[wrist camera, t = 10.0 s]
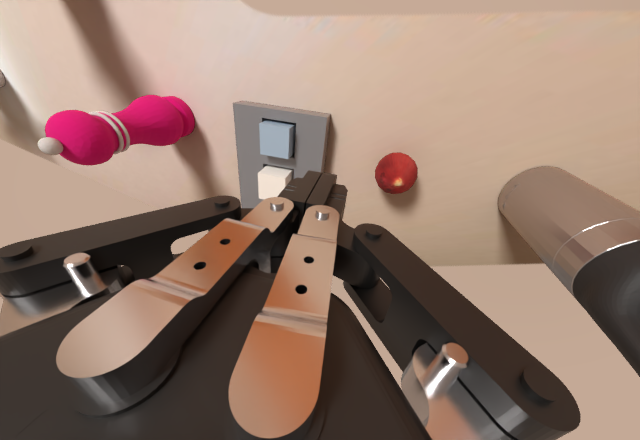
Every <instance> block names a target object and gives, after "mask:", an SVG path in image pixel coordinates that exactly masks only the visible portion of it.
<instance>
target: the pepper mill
mask: <svg viewBox="0 0 640 440" xmlns="http://www.w3.org/2000/svg"><path fill="white" fill-rule="evenodd" d="M194 125H195V121H194V116H193V114H192V111H191V109H190V108H189V107H188V105H187V104H186V103H185V102H184V101H182V100H181V99H179V98H177V97H174V96H168V97H160V96H156V95H146V96H142V97H139V98H137V99H136V100H134V101H133V102H132V103H131V104H130V105H129V106H128V107H127V108H126V109H124V110H122V111H120V112H116V113H109V112H106V111H97V112H90V113H86V112H83V111H78V110H66V111H62V112H58V113H56V114H54V115H53V116H51V117H50V118H49V120H48V121H47V123H46V127H45V133H46V137H45V138H42V139H40V140H39V141H38V147H39V149H40V150H41V151H42V152H44V153H46V154H49V155H57V154H60V155H61V156H62V157H64V158H66V159H67V160H69V161H71V162H73V163H77V164H81V165H97V164H101V163H104V162H106V161H108V160H109V159H110V158H111V157H112V155H113V154H118V153H120V152H124V151H126V150H127V149H128V148H129V146H130V145H133V144H149V145H155V146H166V145H170V144H174V143H176V142H177V141H178V140H179V139H180V138H181V137H184V136H187V135H189V134H190V133H191V132H192V131H193V129H194Z"/></svg>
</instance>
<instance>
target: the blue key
mask: <svg viewBox="0 0 640 440" xmlns="http://www.w3.org/2000/svg"><path fill="white" fill-rule="evenodd" d="M259 131H260V154H262V155H268V156H273V157H279V158H285V159H289V158H290V157H291V156H292V155H293V154H294V153H295V136H296V123H292V122H285V121H279V120H273V119H268V120H266V121H264V122H261V123H259Z"/></svg>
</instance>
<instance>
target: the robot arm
mask: <svg viewBox="0 0 640 440" xmlns="http://www.w3.org/2000/svg"><path fill="white" fill-rule="evenodd" d="M336 179H337V175H334V174H328V173H322V172H316V171H310V170H308V171H307V173H306V174H305V176H304V177H303V178H298V177H297V178H295V179H293V180H290V182H289V183H288V184H287V186H286V187H285V188H284V189H283V190H282V191H281V193H280V194H279V195H278V196H277V197H271V198H267V199H264V200H263V201H262V202H260V203H259V204H258V205H257V206H256V207H255V208H241V204H240V201H239V199H237V198H235V197H232V196H217V197H213V198H208V199H204V200H200V201H195V202H191V203H187V204H182V205H178V206H173V207H169V208H165V209H160V210H156V211H152V212H147V213H143V214H139V215H134V216H130V217H126V218H121V219H117V220H113V221H108V222H104V223H99V224H95V225H91V226H86V227H82V228H78V229H74V230H69V231H65V232H60V233H56V234H52V235H47V236H43V237H39V238H34V239H30V240H25V241H21V242H17V243H14V244H11V245H8V246H5V247H3V248H0V296H1V297H2V298H3V300H4V301H3V305H2V309H1V313H0V440H556V439H558V438H560V437H561V436H563V435H565V434H567V433H569V432H571V431H573V430H574V429H576V428H577V427H578V426H579V423H580V411H579V408H578V405H577V403H576V401H575V399H574V397H573V396H572V394H571V393H570V391H569V390H568V389H567V387H566V386H565V385H564V384H563V383H562V382H561V381H560V379H559V378H557V377H556V376H555V375H554V374H553V373H552V372H551V371H550V370H549V369H547V368H546V367H545V366H544V365H543V364H542V363H541V362H539V361H538V360H537V359H536V358H535V357H534V356H532V355H531V354H530V353H529V352H528V351H527V350H525V349H524V348H523V347H522V346H521V345H520V344H518V343H517V342H516V341H515V340H514V339H513V338H512V337H510V336H509V335H508V334H507V333H506V332H505V331H503V330H502V329H501V328H500V327H499V326H498V325H497V324H495V323H494V322H493V321H492V320H491V319H490V318H488V317H487V316H486V315H485V314H484V313H483V312H481V311H480V310H479V309H478V308H477V307H476V306H474V305H473V304H472V303H471V302H470V301H469V300H468V299H466V298H465V297H464V296H463V295H462V294H460V293H459V292H458V291H457V290H456V289H455V288H454V287H452V286H451V285H450V284H449V283H448V282H447V281H445V280H444V279H443V278H442V277H441V276H440V275H438V274H437V273H436V272H435V271H434V270H433V269H431V268H430V267H429V266H428V265H427V264H426V263H425V262H424V261H422V260H421V259H420V258H419V257H418V256H417V255H415V254H414V253H413V252H412V251H411V250H410V249H408V248H407V247H406V246H405V245H404V244H403V243H401V242H400V241H399V240H398V239H397V238H396V237H395V236H393V235H392V234H391V233H390V232H389V231H388V230H386V229H385V228H383V227H381V226H379V225H375V224H361V225H358V226H357V227H356V228H355V229H354V228H352V227H350V226H348V225H346V224H345V223H344V222H343V221H342V218H343V214H344V208H345V202H346V196H347V191H348V190H347V189H346V187H345V186H344V185H338V184H336ZM498 207H499V209H500V212H501V213H502V214H503V215H504V216H505V218H506V219H507V220H508V221H509V222H510V223H511V225H512V226H513V227H514V228H515V230H516V231H517V232H518V233H519V234H520V235H521V236H522V238H523V239H524V240H525V241H526V242H527V243H528V245H529V246H530V247H531V248H532V249H533V250H534V251H535V253H536V254H537V255H538V256H539V257H540V258H541V260H542V261H543V262H544V263H545V264H546V265H547V266H548V268H549V269H550V270H551V271H552V272H553V273H554V275H555V276H556V277H557V278H558V279H559V280H560V281H561V282H562V284H563V285H564V286H565V287H566V288H567V289H568V291H569V292H570V293H571V294H572V295H573V296H574V297H575V298H576V299H577V301H578V302H579V303H580V304H581V305H582V306H583V308H584V309H585V310H586V311H587V312H588V314H589V315H590V316H591V317H592V319H593V320H594V321H595V322H596V324H597V325H598V326H599V327H600V328H601V330H602V331H603V332H604V333H605V334H606V335H607V337H608V338H609V339H610V340H611V341H612V342H613V344H614V345H615V346H616V347H617V349H618V350H619V351H620V352H621V353H622V355H623V356H624V357H625V359H626V360H627V361H628V362H629V364H630V365H631V366H632V367H633V369H634V370H635V371H636V373H638V375H639V377H640V211H638V210H636V209H634V208H632V207H631V206H629V205H627V204H625V203H623V202H621V201H620V200H618V199H616V198H614V197H612V196H610V195H608V194H607V193H605V192H603V191H601V190H599V189H597V188H596V187H594V186H592V185H590V184H588V183H586V182H585V181H583V180H581V179H579V178H577V177H575V176H574V175H572V174H570V173H568V172H566V171H564V170H562V169H560V168H556V167H537V168H533V169H530V170H527V171H524V172H522V173H520V174H518V175H517V176H515V177H514V178H513V179H511V180H510V181H509V182H508V183H507V184H506V185H505V186H504V188H503V189H502V191H501V193H500V195H499V199H498ZM205 230H208V231H209V232H208V233H207V234H206V235H205V236H204V237H202V238H201V239H200V240H198V241H197V242H196V243H195V244H194V245H192V246H191V247H190V248H189V249H187V250H186V251H185V252H183V253H180V254H172V252H171V244H172V243H173V242H174V241H175V240H177V239H179V238H181V237H185V236H188V235H192V234H195V233H198V232H202V231H205ZM121 265H124V266H122V267H121ZM333 275H334V276H336V277H338V278H340V279H342V280H344V282H343V284H344V288H345V290H346V291H347V293H348V294H349V296H350V297H351V298H352V300H353V301H354V303H355V304H356V306H357V307H358V308H359V310H360V311H361V313H362V314H363V315H364V317H365V318H366V320H367V321H368V323H369V324H370V326H371V327H372V328H373V330H374V331H375V333H376V334H377V336H378V337H379V338H380V340H381V341H382V343H383V344H384V346H385V347H386V348H387V350H388V351H389V353H390V354H391V356H392V357H393V359H394V360H395V361H396V363H397V364H398V366H399V367H400V369H401V370H402V371H403V374H402V378H401V387H402V390H401V388H400V387H399V385H398V384H397V382H396V380H395V379H394V377H393V375H392V374H391V372H390V371H389V369H388V367H387V366H386V364H385V363H384V361H383V360H382V358H381V356H380V355H379V353H378V351H377V350H376V348H375V347H374V345H373V343H372V342H371V340H370V339H369V337H368V335H367V334H366V332H365V330H364V329H363V327H362V326H361V324H360V322H359V321H358V319H357V318H356V316H355V315H354V313H353V312H352V310H351V309H350V308H349V307H348V306H347V305H346V304H345V303H344V302H343V301H342V300H341V299H339V298H338V297H337V296H336V295H334V294H332V293H331V285H332V277H333ZM380 278H381V279H382V280H383V281H384V282H385V283H386V284H387V286H388V287H389V288H388V287H387V286H386V285H385V284H384V283H383V282H382V280H380ZM402 391H403V392H402Z"/></svg>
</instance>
